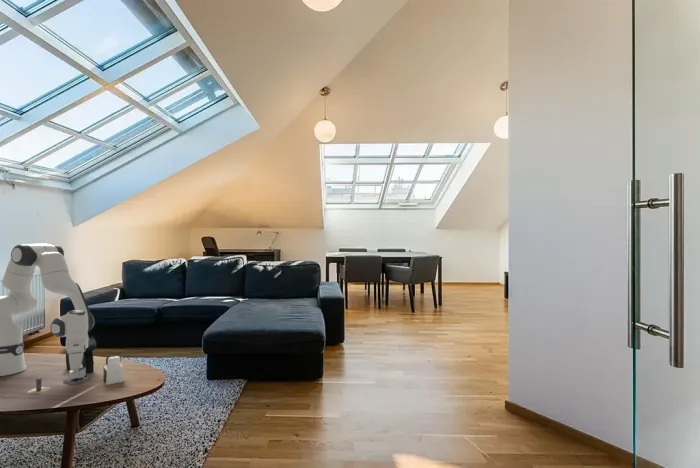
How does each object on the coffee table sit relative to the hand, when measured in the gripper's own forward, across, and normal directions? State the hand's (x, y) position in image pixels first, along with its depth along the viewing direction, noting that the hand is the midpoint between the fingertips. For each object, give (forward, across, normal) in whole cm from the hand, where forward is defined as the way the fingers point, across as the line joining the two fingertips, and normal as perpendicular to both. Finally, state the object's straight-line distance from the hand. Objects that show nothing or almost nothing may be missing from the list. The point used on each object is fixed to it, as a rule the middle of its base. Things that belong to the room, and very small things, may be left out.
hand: (77, 374), depth 189 cm
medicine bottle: (+4, +8, +15) cm, 17 cm away
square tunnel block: (+1, 0, 0) cm, 1 cm away
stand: (+4, +7, -13) cm, 16 cm away
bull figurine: (+4, -19, -1) cm, 20 cm away
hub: (+4, 0, 0) cm, 4 cm away
